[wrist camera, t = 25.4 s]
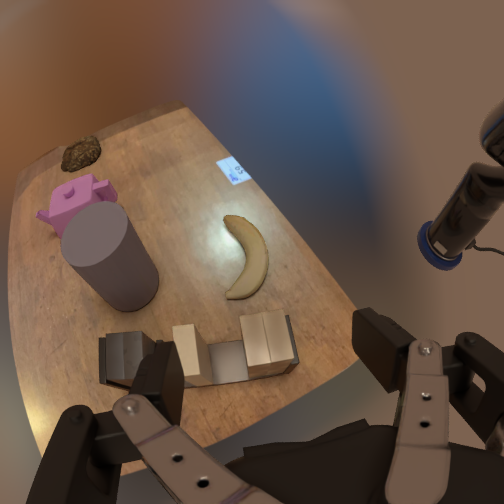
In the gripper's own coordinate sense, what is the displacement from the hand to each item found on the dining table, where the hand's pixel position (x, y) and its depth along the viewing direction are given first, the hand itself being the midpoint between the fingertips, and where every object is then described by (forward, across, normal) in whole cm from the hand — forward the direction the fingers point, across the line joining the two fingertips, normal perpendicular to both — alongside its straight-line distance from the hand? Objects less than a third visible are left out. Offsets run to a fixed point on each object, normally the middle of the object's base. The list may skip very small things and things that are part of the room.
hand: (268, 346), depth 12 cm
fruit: (+36, -1, +5) cm, 36 cm away
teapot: (+46, +30, -5) cm, 55 cm away
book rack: (+24, +7, +17) cm, 30 cm away
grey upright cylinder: (+34, +18, +6) cm, 39 cm away
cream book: (+23, +7, +16) cm, 29 cm away
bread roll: (+63, +38, -22) cm, 77 cm away
